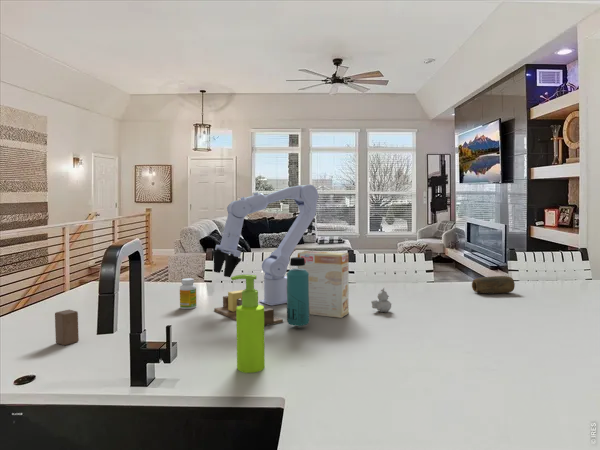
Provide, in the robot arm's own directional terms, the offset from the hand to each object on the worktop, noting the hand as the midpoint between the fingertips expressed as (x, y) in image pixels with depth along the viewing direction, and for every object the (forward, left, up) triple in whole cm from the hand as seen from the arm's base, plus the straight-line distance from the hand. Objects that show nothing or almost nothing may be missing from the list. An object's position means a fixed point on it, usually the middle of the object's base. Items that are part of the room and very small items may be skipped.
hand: (221, 274), depth 145 cm
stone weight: (-93, +43, -12) cm, 103 cm away
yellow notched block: (-1, +9, -10) cm, 14 cm away
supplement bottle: (+9, -8, -12) cm, 16 cm away
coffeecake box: (-22, +26, -12) cm, 36 cm away
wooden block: (+48, +8, -12) cm, 50 cm away
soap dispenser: (+20, +51, -12) cm, 56 cm away
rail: (-1, +14, -11) cm, 18 cm away
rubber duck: (-38, +36, -12) cm, 54 cm away
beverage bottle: (-6, +34, -12) cm, 37 cm away
